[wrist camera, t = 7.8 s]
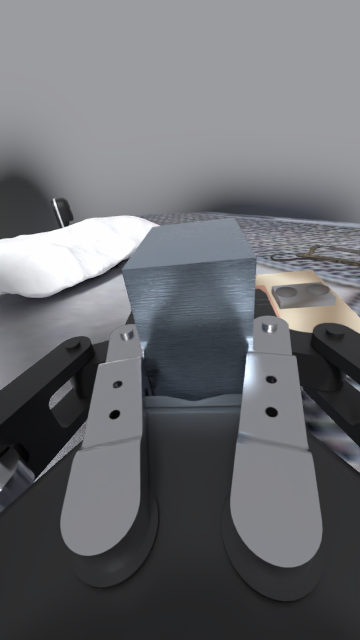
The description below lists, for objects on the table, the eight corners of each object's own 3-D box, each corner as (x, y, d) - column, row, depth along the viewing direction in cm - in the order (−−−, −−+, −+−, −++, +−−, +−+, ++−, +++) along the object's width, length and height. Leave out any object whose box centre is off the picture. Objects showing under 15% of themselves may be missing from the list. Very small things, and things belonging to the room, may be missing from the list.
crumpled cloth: (-35, 280, 47) (-68, 232, 41) (133, 234, 61) (126, 193, 55) (-37, 355, 32) (-90, 296, 26) (188, 270, 46) (186, 219, 40)
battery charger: (82, 245, 65) (66, 197, 59) (67, 248, 64) (49, 200, 58) (81, 240, 71) (66, 196, 65) (67, 243, 70) (51, 198, 64)
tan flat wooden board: (154, 363, 22) (148, 340, 21) (170, 293, 34) (167, 275, 33) (373, 352, 20) (383, 326, 19) (309, 281, 32) (312, 262, 30)
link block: (172, 467, 12) (121, 269, 7) (180, 387, 16) (152, 226, 11) (247, 467, 12) (256, 257, 6) (234, 385, 16) (234, 217, 10)
